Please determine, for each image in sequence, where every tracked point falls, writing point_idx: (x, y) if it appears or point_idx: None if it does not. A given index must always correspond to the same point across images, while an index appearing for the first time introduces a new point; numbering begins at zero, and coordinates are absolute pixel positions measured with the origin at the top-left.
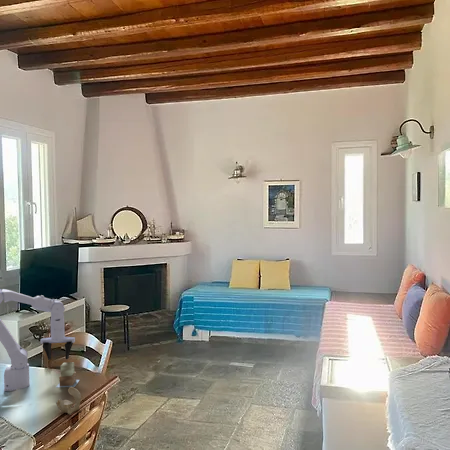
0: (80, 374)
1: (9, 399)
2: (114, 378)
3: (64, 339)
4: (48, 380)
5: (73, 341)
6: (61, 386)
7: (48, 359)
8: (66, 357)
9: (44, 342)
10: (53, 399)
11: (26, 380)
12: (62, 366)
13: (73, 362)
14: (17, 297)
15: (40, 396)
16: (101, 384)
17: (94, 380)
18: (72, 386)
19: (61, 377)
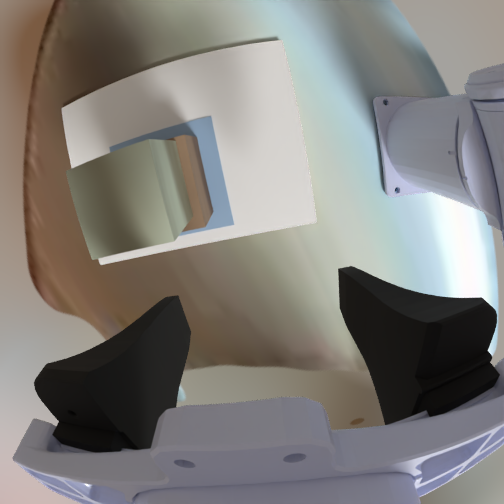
0: (191, 329)
1: (379, 5)
2: (33, 284)
3: (81, 476)
4: (323, 242)
5: (31, 430)
6: (182, 133)
7: (350, 268)
8: (162, 302)
9: (483, 392)
10: (158, 7)
11: (405, 124)
12: (133, 145)
13: (92, 251)
14: None
15: (246, 22)
16: (35, 215)
17: (82, 258)
18: (121, 144)
19: (170, 138)
